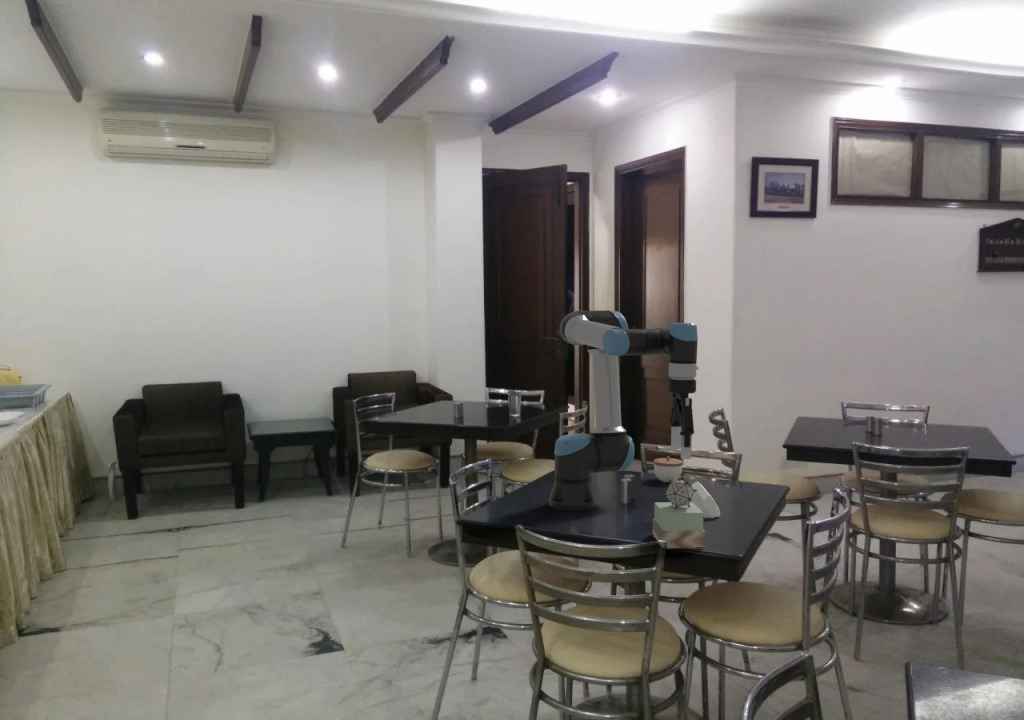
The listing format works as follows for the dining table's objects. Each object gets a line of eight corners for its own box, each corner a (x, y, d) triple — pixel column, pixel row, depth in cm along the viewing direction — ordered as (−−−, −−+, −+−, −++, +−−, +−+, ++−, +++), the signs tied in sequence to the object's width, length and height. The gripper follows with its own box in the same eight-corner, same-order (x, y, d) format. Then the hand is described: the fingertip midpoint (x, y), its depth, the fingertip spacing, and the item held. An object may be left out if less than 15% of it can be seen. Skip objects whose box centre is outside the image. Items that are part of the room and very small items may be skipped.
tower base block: (660, 549, 205) (661, 531, 205) (652, 535, 217) (652, 518, 216) (704, 549, 205) (705, 531, 205) (693, 535, 217) (694, 518, 217)
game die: (685, 521, 209) (701, 498, 203) (657, 510, 209) (672, 486, 203) (686, 499, 217) (701, 476, 211) (658, 488, 217) (673, 465, 211)
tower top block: (663, 531, 205) (663, 512, 204) (654, 519, 216) (654, 502, 215) (703, 530, 205) (703, 512, 205) (692, 519, 216) (692, 502, 216)
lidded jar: (648, 478, 288) (649, 454, 287) (674, 477, 290) (675, 453, 290) (660, 485, 277) (661, 459, 277) (687, 483, 280) (687, 458, 279)
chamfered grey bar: (679, 488, 257) (691, 507, 233) (697, 478, 256) (712, 496, 233) (689, 507, 257) (703, 527, 233) (708, 497, 257) (724, 516, 233)
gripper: (706, 383, 196) (704, 463, 198) (686, 374, 221) (684, 445, 223) (678, 382, 196) (676, 462, 198) (660, 373, 221) (659, 445, 223)
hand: (680, 453), depth 210 cm, fingers open, 13 cm apart
